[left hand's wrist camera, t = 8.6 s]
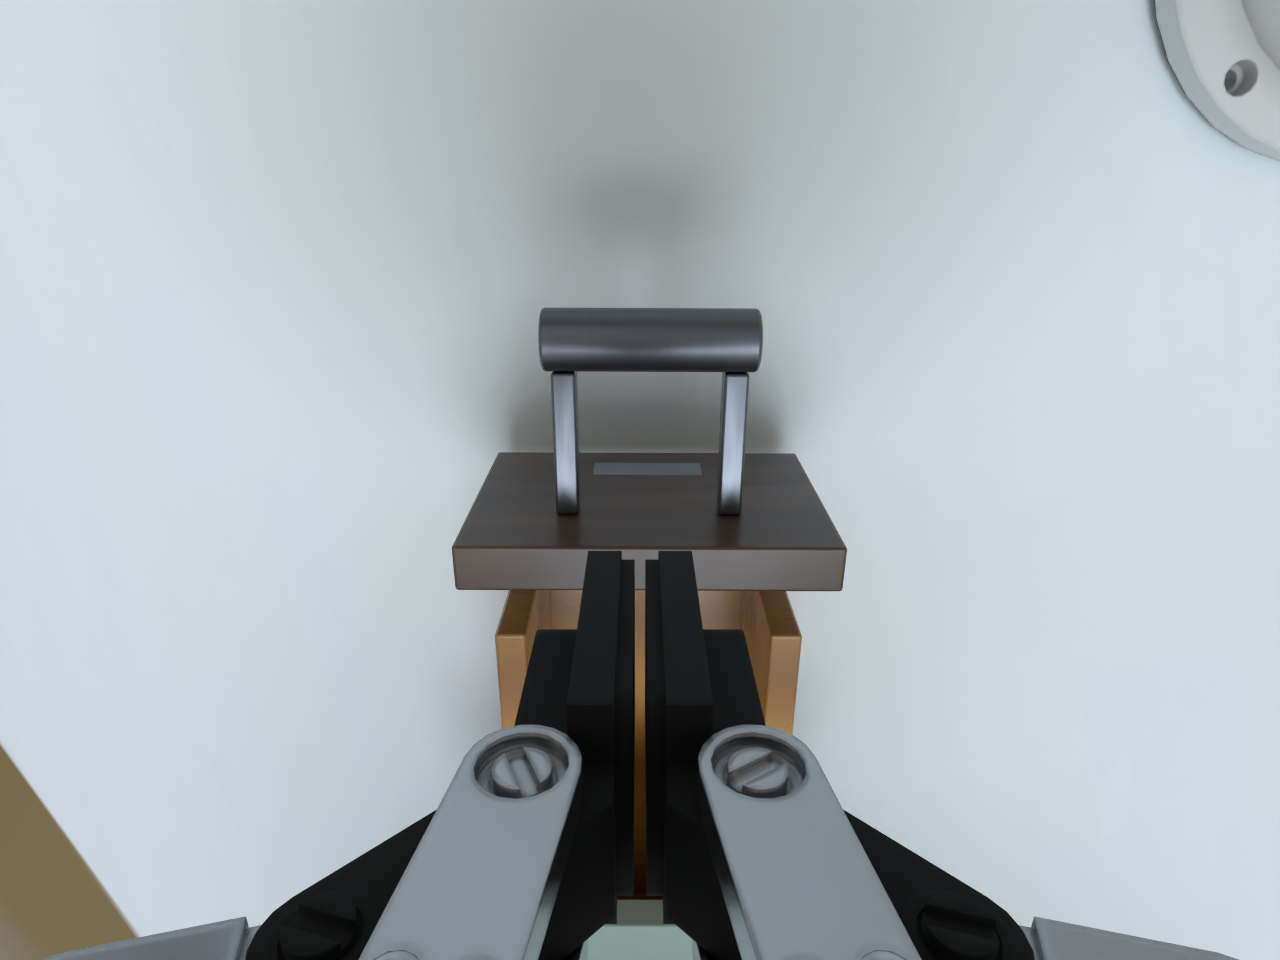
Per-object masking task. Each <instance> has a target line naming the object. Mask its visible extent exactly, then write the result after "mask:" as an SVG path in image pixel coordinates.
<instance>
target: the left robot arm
mask: <svg viewBox="0 0 1280 960" xmlns="http://www.w3.org/2000/svg"><path fill="white" fill-rule="evenodd" d="M1155 6H1156V18H1157V22H1158V25H1159V29H1160V33H1161V36H1162V40H1163V43H1164V47H1165V51H1166V54H1167V58H1168V61H1169V63H1170V65H1171V67H1172V69H1173V71H1174V73H1175V75H1176V76H1177V78H1178V80H1179V82H1180V84H1181V86H1182V88H1183V90H1184V92H1185V93H1186V95H1187V97H1188V98H1189V100H1190V101H1191V102H1192V103H1193V104H1194V105H1195V106H1196V108H1197V109H1198V110H1199V111H1200V112H1201V113H1202V114H1203V115H1204V117H1205V118H1206V119H1207V120H1208V121H1209V122H1210V123H1211V125H1212V126H1213V127H1215V128H1216V129H1218V130H1219V131H1220V132H1222V133H1223V134H1225V135H1226V136H1228V137H1229V138H1231V139H1232V140H1234V141H1235V142H1237V143H1238V144H1240V145H1241V146H1242V147H1244V148H1246V149H1249V150H1251V151H1254V152H1257V153H1260V154H1262V155H1265V156H1268V157H1270V158H1273V159H1276V160H1279V161H1280V0H1155ZM1224 81H1225V84H1224ZM634 776H635V559H622V551H588V555H587V562H586V569H585V576H584V583H583V590H582V597H581V604H580V612H579V619H578V626H577V629H538V630H537V632H536V635H535V638H534V643H533V647H532V651H531V656H530V660H529V664H528V669H527V673H526V677H525V681H524V686H523V690H522V694H521V699H520V703H519V707H518V712H517V716H516V720H515V725H514V726H512V727H507V728H503V729H500V730H498V731H496V732H494V733H491V734H489V735H487V736H485V737H484V738H483V739H481V740H480V741H479V742H477V743H476V744H475V745H473V747H472V748H471V749H470V751H469V752H468V753H467V754H466V756H465V757H464V759H463V761H462V763H461V765H460V767H459V768H458V770H457V772H456V774H455V776H454V778H453V780H452V782H451V784H450V786H449V788H448V789H447V791H446V793H445V795H444V797H443V799H442V801H441V803H440V805H439V807H438V809H437V810H435V811H434V812H432V813H430V814H429V815H427V816H426V817H424V818H422V819H421V820H419V821H417V822H416V823H414V824H412V825H411V826H409V827H407V828H406V829H404V830H403V831H401V832H399V833H398V834H396V835H394V836H393V837H391V838H389V839H388V840H386V841H384V842H383V843H381V844H380V845H378V846H376V847H375V848H373V849H371V850H370V851H368V852H366V853H365V854H363V855H361V856H360V857H358V858H356V859H355V860H353V861H352V862H350V863H348V864H347V865H345V866H343V867H342V868H340V869H338V870H337V871H335V872H333V873H332V874H330V875H329V876H327V877H325V878H324V879H322V880H320V881H319V882H317V883H315V884H314V885H312V886H310V887H309V888H307V889H306V890H304V891H302V892H301V893H299V894H297V895H296V896H294V897H292V898H291V899H290V900H288V901H287V902H286V903H285V904H283V905H282V906H281V907H279V908H278V909H277V910H275V911H274V912H273V913H272V914H271V915H270V916H269V917H268V919H267V920H266V921H265V922H264V923H263V924H262V925H260V926H255V927H250V928H249V927H248V923H247V919H246V917H241V918H236V919H231V920H226V921H221V922H216V923H211V924H206V925H200V926H195V927H190V928H185V929H180V930H175V931H170V932H165V933H160V934H155V935H150V936H145V937H140V938H134V939H130V940H125V941H119V942H114V943H109V944H104V945H99V946H94V947H89V948H84V949H79V950H74V951H68V952H63V953H60V954H57V955H54V956H51V957H48V958H45V959H42V960H587V958H588V938H590V937H591V936H592V935H593V934H594V933H595V932H597V931H598V930H599V929H600V928H601V927H602V926H604V925H605V924H617V898H618V896H633V883H634ZM645 776H646V883H647V896H662V898H663V924H675V925H676V926H678V927H679V928H680V929H681V930H682V931H683V932H685V933H686V934H687V935H688V936H689V937H690V938H692V958H693V960H1238V959H1235V958H1232V957H1229V956H1226V955H1223V954H1220V953H1217V952H1212V951H1206V950H1201V949H1196V948H1191V947H1186V946H1181V945H1176V944H1171V943H1166V942H1161V941H1156V940H1151V939H1146V938H1140V937H1135V936H1130V935H1125V934H1120V933H1115V932H1110V931H1105V930H1100V929H1095V928H1090V927H1085V926H1080V925H1074V924H1069V923H1064V922H1059V921H1054V920H1049V919H1044V918H1039V917H1034V919H1033V923H1032V927H1031V928H1030V927H1025V926H1020V925H1018V924H1017V923H1016V922H1015V921H1014V920H1013V919H1012V917H1011V916H1010V915H1009V914H1008V913H1007V912H1006V911H1005V910H1003V909H1002V908H1001V907H999V906H998V905H997V904H995V903H994V902H993V901H992V900H990V899H989V898H988V897H986V896H984V895H983V894H981V893H979V892H978V891H976V890H974V889H973V888H971V887H970V886H968V885H966V884H965V883H963V882H961V881H960V880H958V879H956V878H955V877H953V876H951V875H950V874H948V873H947V872H945V871H943V870H942V869H940V868H938V867H937V866H935V865H933V864H932V863H930V862H928V861H927V860H925V859H924V858H922V857H920V856H919V855H917V854H915V853H914V852H912V851H910V850H909V849H907V848H905V847H904V846H902V845H900V844H899V843H897V842H896V841H894V840H892V839H891V838H889V837H887V836H886V835H884V834H882V833H881V832H879V831H877V830H876V829H874V828H873V827H871V826H869V825H868V824H866V823H864V822H863V821H861V820H859V819H858V818H856V817H854V816H853V815H851V814H850V813H848V812H846V811H845V810H843V809H842V807H841V805H840V803H839V801H838V799H837V797H836V795H835V793H834V791H833V789H832V788H831V786H830V784H829V782H828V780H827V778H826V776H825V774H824V772H823V770H822V768H821V767H820V765H819V763H818V761H817V759H816V757H815V756H814V754H813V753H812V752H811V751H810V749H809V748H808V747H807V745H805V744H804V743H803V742H801V741H800V740H799V739H797V738H796V737H795V736H793V735H791V734H789V733H786V732H784V731H782V730H780V729H777V728H773V727H768V726H766V725H765V720H764V716H763V712H762V707H761V703H760V699H759V694H758V690H757V686H756V681H755V677H754V673H753V669H752V664H751V660H750V656H749V651H748V647H747V643H746V638H745V635H744V632H743V630H742V629H703V626H702V619H701V612H700V604H699V597H698V590H697V583H696V576H695V569H694V562H693V555H692V551H658V559H645Z"/></svg>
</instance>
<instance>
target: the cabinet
mask: <svg viewBox="0 0 1280 960" xmlns="http://www.w3.org/2000/svg"><path fill="white" fill-rule="evenodd" d="M587 960H693V958H692V938H690V937H689V936H688V935H687V934H686V933H685V932H683V931H682V930H681V929H680V928H679V927H678V926H676V925H675V924H663V900H617V924H605V925H604V926H602V927H601V928H600V929H599V930H598V931H597V932H595V933H594V934H593V935H592V936H591V937H590V938H588V958H587Z"/></svg>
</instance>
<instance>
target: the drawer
mask: <svg viewBox="0 0 1280 960" xmlns="http://www.w3.org/2000/svg"><path fill="white" fill-rule="evenodd" d="M762 344H763V326H762V317H761V314H760V311H759V310H758V309H705V308H543V309H542V310H541V313H540V317H539V356H540V363H541V366H542V369H543V370H544V371H552V374H551V395H552V420H553V445H554V453H498V455H497V457H496V459H495V461H494V463H493V465H492V467H491V469H490V471H489V473H488V475H487V477H486V479H485V481H484V483H483V485H482V487H481V490H480V492H479V494H478V496H477V498H476V500H475V502H474V504H473V506H472V508H471V510H470V512H469V514H468V516H467V518H466V520H465V522H464V524H463V526H462V528H461V530H460V532H459V534H458V536H457V538H456V540H455V542H454V544H453V546H452V556H453V566H454V576H455V587H456V589H458V590H509V592H508V595H507V598H506V602H505V605H504V608H503V611H502V615H501V618H500V621H499V624H498V628H497V631H496V634H495V642H496V655H497V668H498V681H499V694H500V707H501V720H502V729H503V728H507V727H512V726H514V725H515V720H516V716H517V712H518V707H519V703H520V699H521V694H522V690H523V686H524V681H525V677H526V673H527V669H528V664H529V660H530V656H531V651H532V647H533V643H534V638H535V635H536V632H537V630H538V629H577V626H578V619H579V612H580V604H581V597H582V590H583V583H584V576H585V569H586V562H587V555H588V551H622V559H635V776H634V883H633V896H618V898H617V900H663V898H662V896H647V883H646V776H645V559H658V551H692V555H693V562H694V569H695V576H696V583H697V590H698V597H699V604H700V612H701V619H702V626H703V629H742V630H743V632H744V635H745V638H746V643H747V647H748V651H749V656H750V660H751V664H752V669H753V673H754V677H755V681H756V686H757V690H758V694H759V699H760V703H761V707H762V712H763V716H764V720H765V725H766V726H768V727H773V728H777V729H780V730H782V731H784V732H786V733H789V734H791V735H792V732H793V722H794V712H795V701H796V691H797V681H798V671H799V661H800V650H801V640H802V636H801V633H800V630H799V627H798V624H797V621H796V618H795V615H794V613H793V610H792V607H791V604H790V601H789V598H788V595H787V592H786V591H841V590H842V588H843V579H844V571H845V562H846V554H847V548H846V546H845V544H844V543H843V541H842V539H841V537H840V535H839V533H838V532H837V530H836V528H835V526H834V524H833V522H832V521H831V519H830V517H829V515H828V513H827V511H826V510H825V508H824V506H823V504H822V502H821V500H820V499H819V497H818V495H817V493H816V491H815V489H814V488H813V486H812V484H811V482H810V480H809V478H808V477H807V475H806V473H805V471H804V469H803V467H802V466H801V464H800V462H799V460H798V458H797V456H796V455H795V454H745V440H746V423H747V406H748V389H749V374H748V373H747V372H755V371H757V370H758V368H759V366H760V362H761V356H762ZM577 371H612V372H723V374H722V395H721V417H720V439H719V453H579V429H578V391H577Z"/></svg>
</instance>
